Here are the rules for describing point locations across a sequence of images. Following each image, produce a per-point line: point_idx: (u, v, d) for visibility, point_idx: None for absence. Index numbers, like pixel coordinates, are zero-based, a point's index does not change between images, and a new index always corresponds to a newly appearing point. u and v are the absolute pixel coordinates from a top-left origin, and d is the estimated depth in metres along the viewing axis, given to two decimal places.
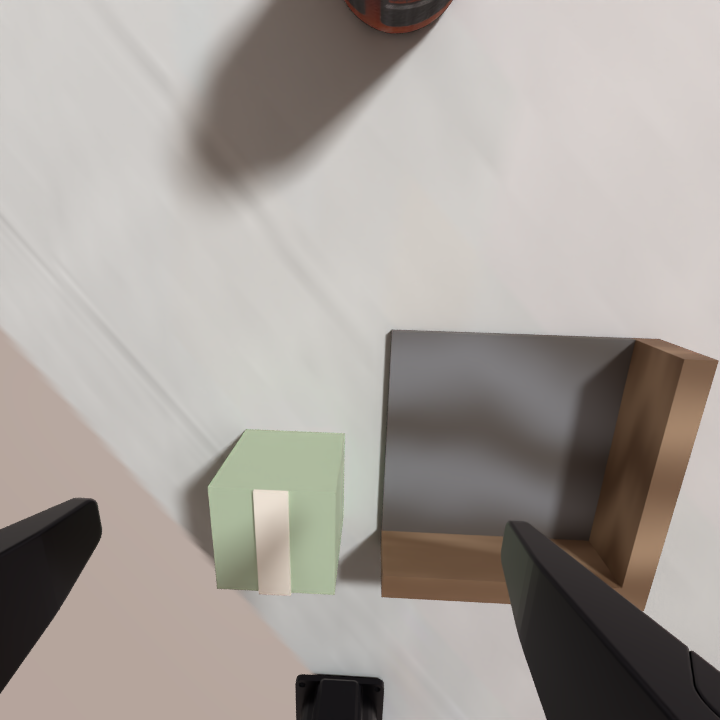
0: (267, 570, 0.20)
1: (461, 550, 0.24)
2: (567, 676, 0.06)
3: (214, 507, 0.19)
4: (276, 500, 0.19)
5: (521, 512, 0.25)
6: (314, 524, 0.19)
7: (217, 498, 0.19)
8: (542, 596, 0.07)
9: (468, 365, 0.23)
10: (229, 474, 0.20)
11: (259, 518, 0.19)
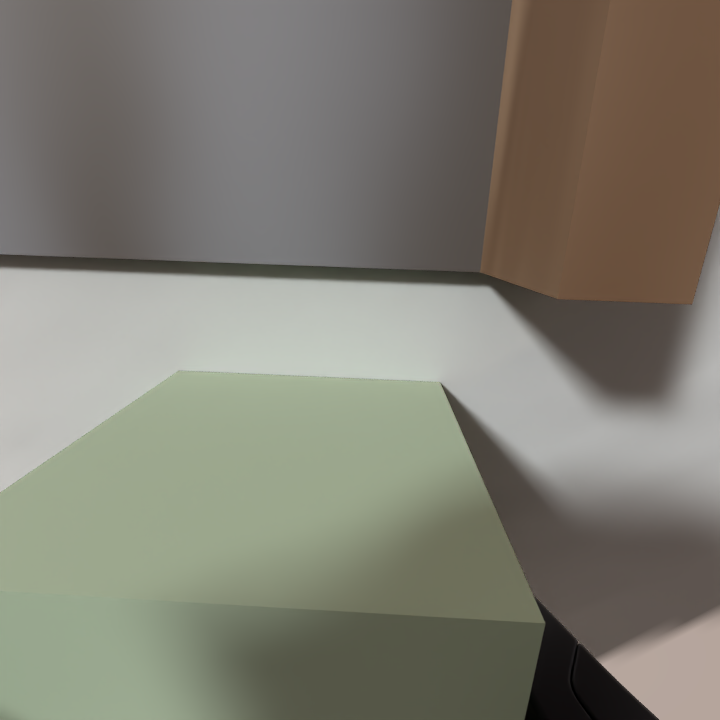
0: None
1: None
2: None
3: None
4: None
5: None
6: (85, 677, 0.04)
7: None
8: None
9: None
10: None
11: None
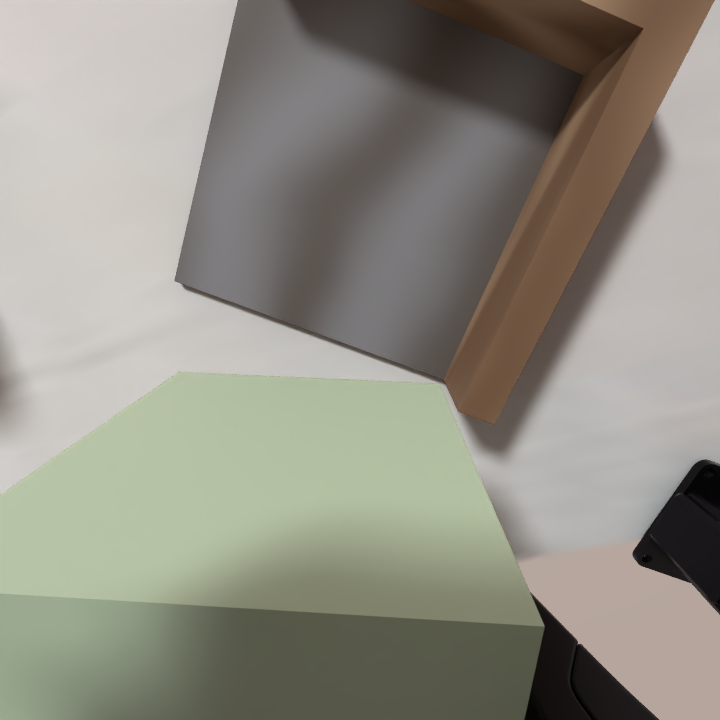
0: None
1: (497, 286, 0.16)
2: None
3: None
4: None
5: (486, 178, 0.16)
6: (85, 679, 0.04)
7: None
8: None
9: (237, 198, 0.17)
10: None
11: None
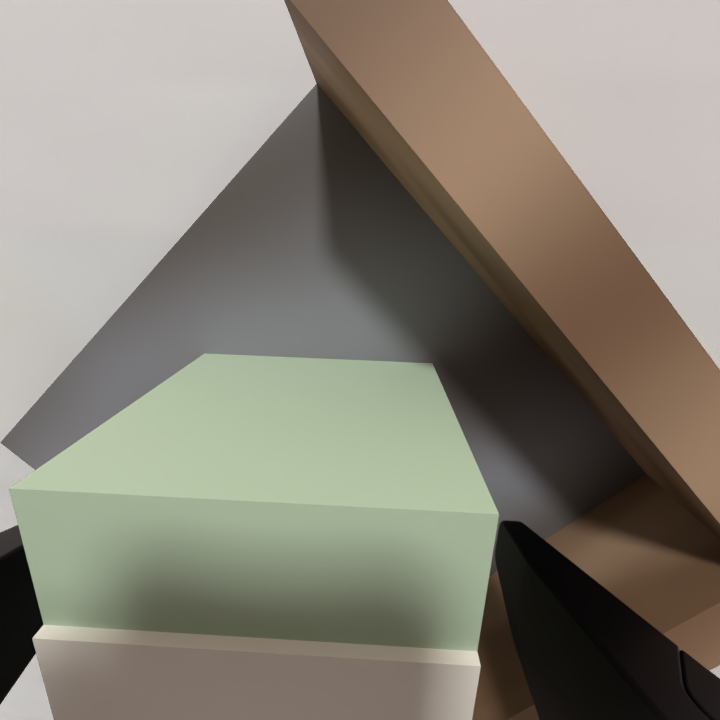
0: (361, 717, 0.06)
1: None
2: (559, 675, 0.06)
3: None
4: (70, 667, 0.06)
5: None
6: (162, 561, 0.05)
7: None
8: (535, 595, 0.07)
9: (139, 391, 0.11)
10: None
11: (150, 715, 0.06)
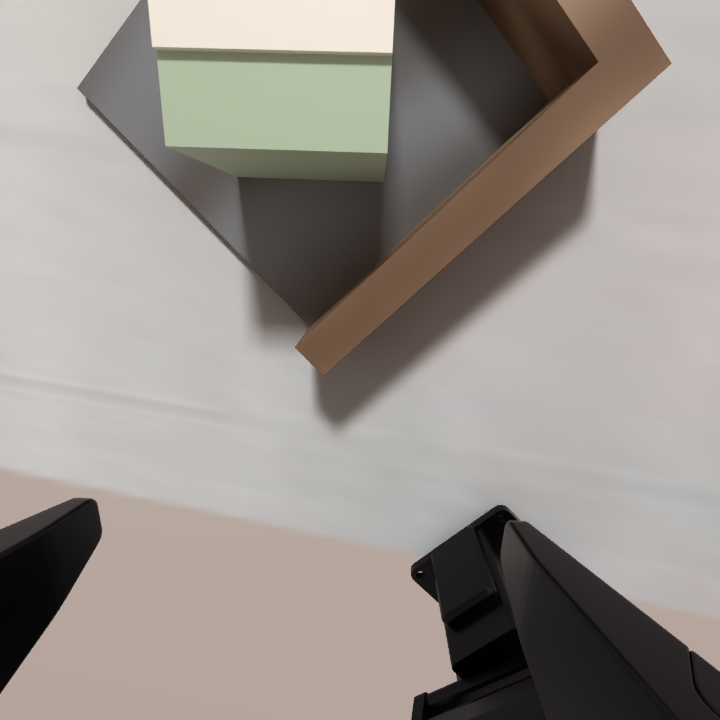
0: (331, 27, 0.10)
1: (389, 253, 0.16)
2: (567, 676, 0.06)
3: (204, 137, 0.11)
4: None
5: (428, 150, 0.16)
6: None
7: (185, 129, 0.11)
8: (542, 596, 0.07)
9: None
10: None
11: (208, 37, 0.10)
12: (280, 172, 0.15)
